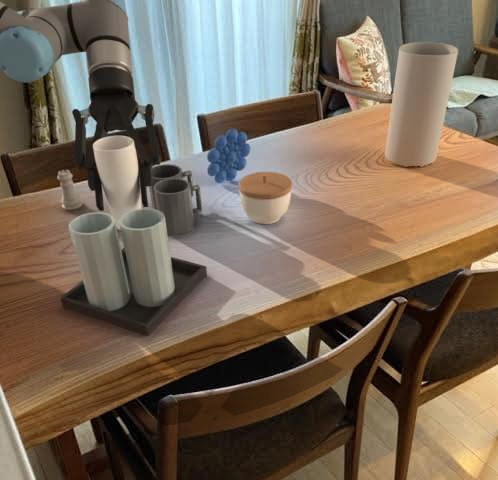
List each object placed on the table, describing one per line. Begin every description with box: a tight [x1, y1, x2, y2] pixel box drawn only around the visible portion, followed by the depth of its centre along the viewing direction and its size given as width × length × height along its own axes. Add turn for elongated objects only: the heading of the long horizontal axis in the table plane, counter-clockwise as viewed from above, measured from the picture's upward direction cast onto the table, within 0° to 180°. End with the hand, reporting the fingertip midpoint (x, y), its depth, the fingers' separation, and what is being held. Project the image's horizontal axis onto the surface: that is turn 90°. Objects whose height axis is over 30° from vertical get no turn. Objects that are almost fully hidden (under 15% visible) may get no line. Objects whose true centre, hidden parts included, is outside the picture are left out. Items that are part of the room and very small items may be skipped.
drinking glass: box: [93, 135, 143, 231], centre depth 92 cm, size 7×7×15 cm
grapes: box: [206, 128, 251, 184], centre depth 124 cm, size 12×7×12 cm, turn 124°
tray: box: [59, 247, 208, 337], centre depth 93 cm, size 17×18×2 cm
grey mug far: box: [148, 164, 195, 210], centre depth 114 cm, size 10×7×9 cm
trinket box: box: [238, 171, 293, 225], centre depth 110 cm, size 11×11×9 cm
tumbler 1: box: [68, 211, 131, 311], centre depth 87 cm, size 7×7×15 cm
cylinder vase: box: [384, 41, 459, 168], centre depth 126 cm, size 12×12×25 cm
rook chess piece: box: [56, 169, 83, 212], centre depth 116 cm, size 4×4×8 cm
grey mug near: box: [153, 178, 203, 236], centre depth 108 cm, size 10×7×9 cm
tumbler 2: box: [119, 207, 175, 307], centre depth 87 cm, size 7×7×15 cm
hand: (122, 206), depth 90 cm, fingers closed on drinking glass, 7 cm apart
